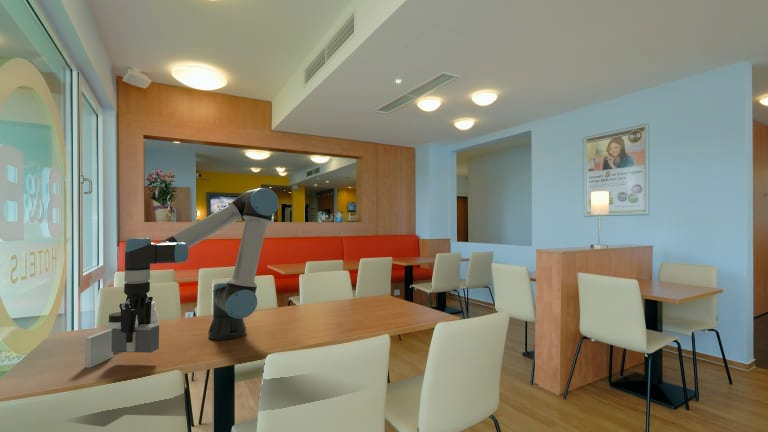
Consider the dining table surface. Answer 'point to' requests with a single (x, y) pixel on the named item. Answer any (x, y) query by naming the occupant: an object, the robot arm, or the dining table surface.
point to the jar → (114, 320)
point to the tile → (98, 348)
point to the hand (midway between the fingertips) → (135, 348)
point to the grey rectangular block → (137, 338)
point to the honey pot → (153, 315)
